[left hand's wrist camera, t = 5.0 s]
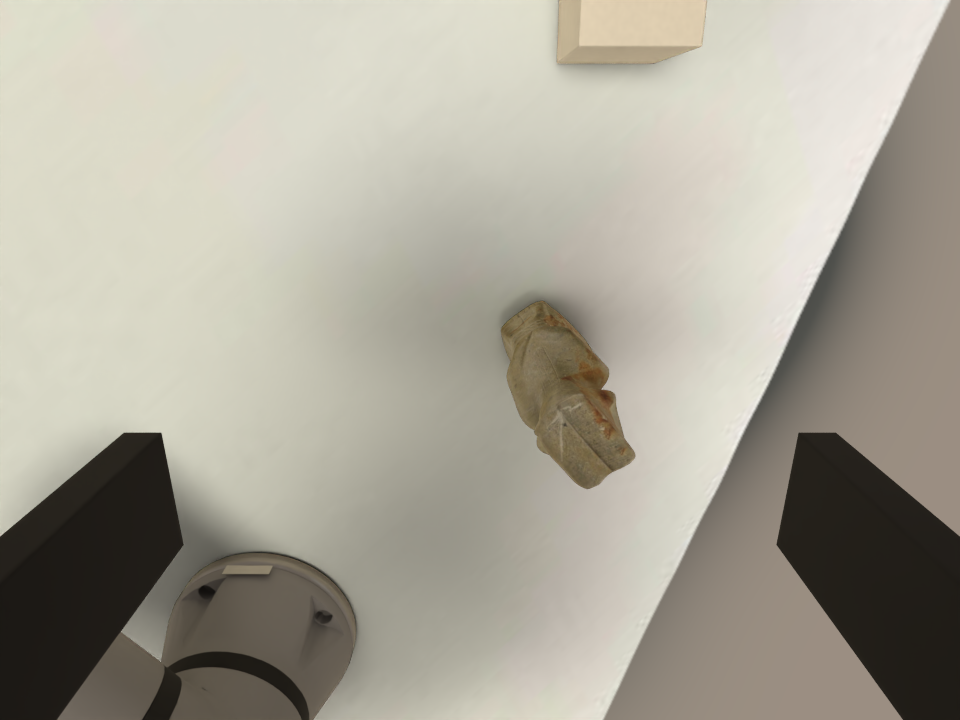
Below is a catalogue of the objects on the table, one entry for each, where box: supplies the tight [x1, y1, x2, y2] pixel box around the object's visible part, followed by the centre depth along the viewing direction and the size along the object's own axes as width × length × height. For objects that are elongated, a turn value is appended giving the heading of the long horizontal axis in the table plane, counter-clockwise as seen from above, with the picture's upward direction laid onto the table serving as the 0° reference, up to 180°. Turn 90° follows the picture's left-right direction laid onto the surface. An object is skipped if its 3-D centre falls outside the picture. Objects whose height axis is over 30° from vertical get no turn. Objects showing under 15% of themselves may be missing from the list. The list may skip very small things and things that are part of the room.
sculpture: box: [501, 301, 635, 489], centre depth 37 cm, size 6×7×15 cm
